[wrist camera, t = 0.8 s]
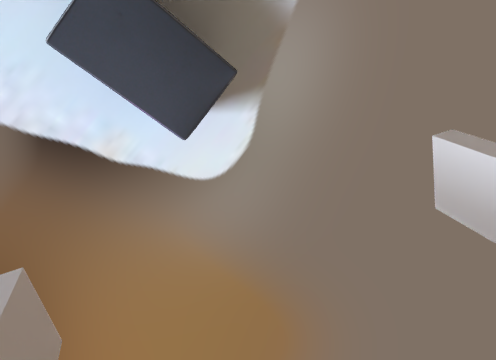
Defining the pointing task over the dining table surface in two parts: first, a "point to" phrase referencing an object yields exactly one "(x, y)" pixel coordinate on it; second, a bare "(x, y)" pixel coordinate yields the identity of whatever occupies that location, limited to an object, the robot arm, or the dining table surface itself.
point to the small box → (144, 58)
